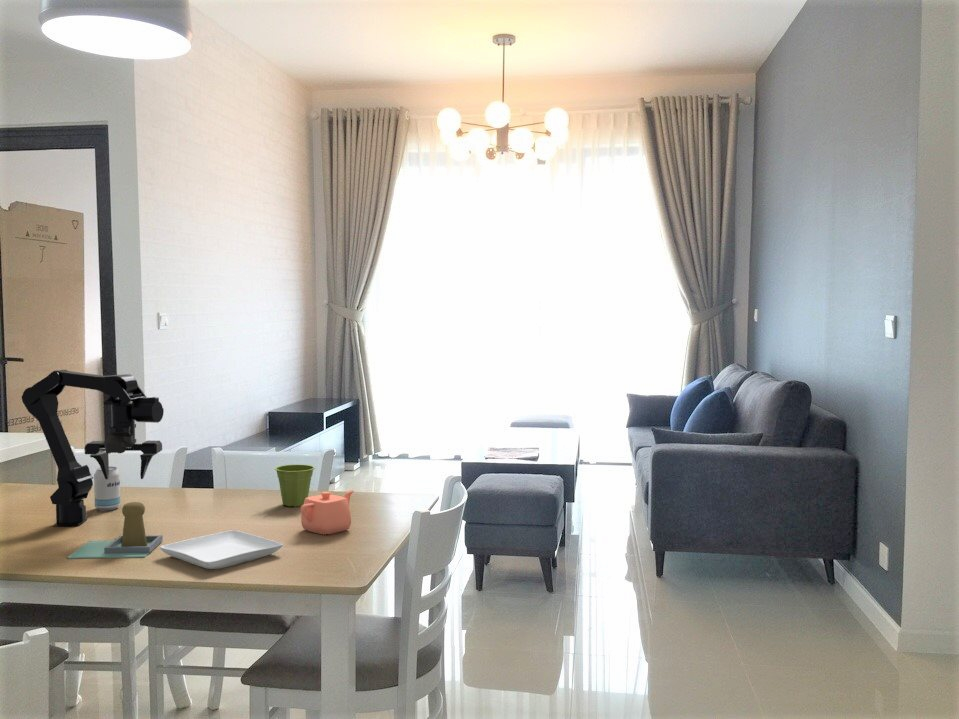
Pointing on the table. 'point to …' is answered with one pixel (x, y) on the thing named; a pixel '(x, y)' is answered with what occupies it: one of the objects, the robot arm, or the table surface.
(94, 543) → the board
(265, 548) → the salad plate
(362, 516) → the table surface
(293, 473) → the plant pot
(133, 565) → the table surface
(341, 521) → the teapot
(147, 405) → the robot arm
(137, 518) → the cork
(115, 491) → the beverage can
